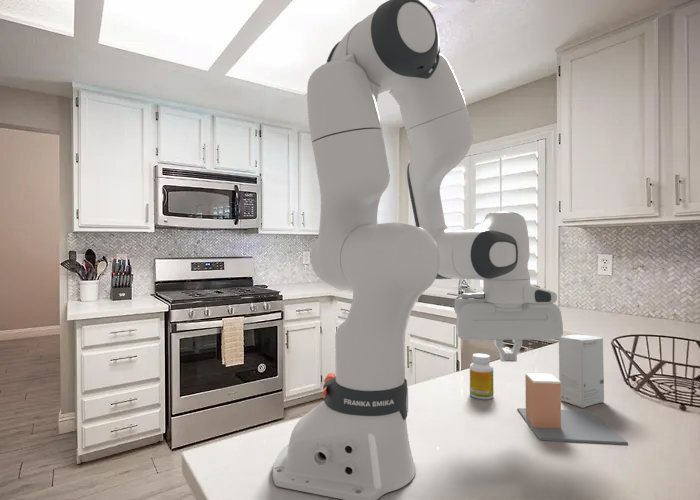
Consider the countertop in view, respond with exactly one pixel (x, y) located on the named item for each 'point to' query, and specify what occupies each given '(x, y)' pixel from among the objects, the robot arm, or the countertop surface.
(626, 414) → the countertop surface
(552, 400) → the block
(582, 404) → the skincare box
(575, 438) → the mat
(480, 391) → the supplement bottle
